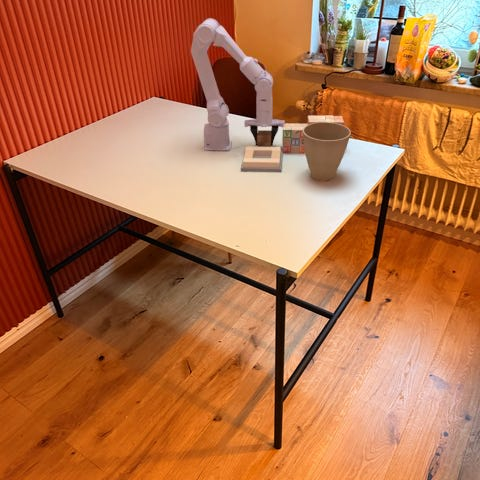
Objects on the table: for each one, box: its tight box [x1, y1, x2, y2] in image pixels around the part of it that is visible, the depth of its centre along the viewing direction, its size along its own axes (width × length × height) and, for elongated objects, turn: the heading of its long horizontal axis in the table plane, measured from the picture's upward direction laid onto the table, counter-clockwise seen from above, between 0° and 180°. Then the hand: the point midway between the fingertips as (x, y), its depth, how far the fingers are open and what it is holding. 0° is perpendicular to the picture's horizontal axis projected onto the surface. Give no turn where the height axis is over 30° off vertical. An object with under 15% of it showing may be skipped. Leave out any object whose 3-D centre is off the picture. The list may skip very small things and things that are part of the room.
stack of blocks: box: [281, 114, 345, 154], centre depth 164 cm, size 21×6×12 cm, turn 85°
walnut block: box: [256, 129, 272, 147], centre depth 168 cm, size 5×5×6 cm
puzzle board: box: [240, 145, 284, 173], centre depth 159 cm, size 14×14×3 cm
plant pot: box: [303, 122, 351, 182], centre depth 146 cm, size 15×15×16 cm
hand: (264, 144), depth 169 cm, fingers closed on walnut block, 5 cm apart
